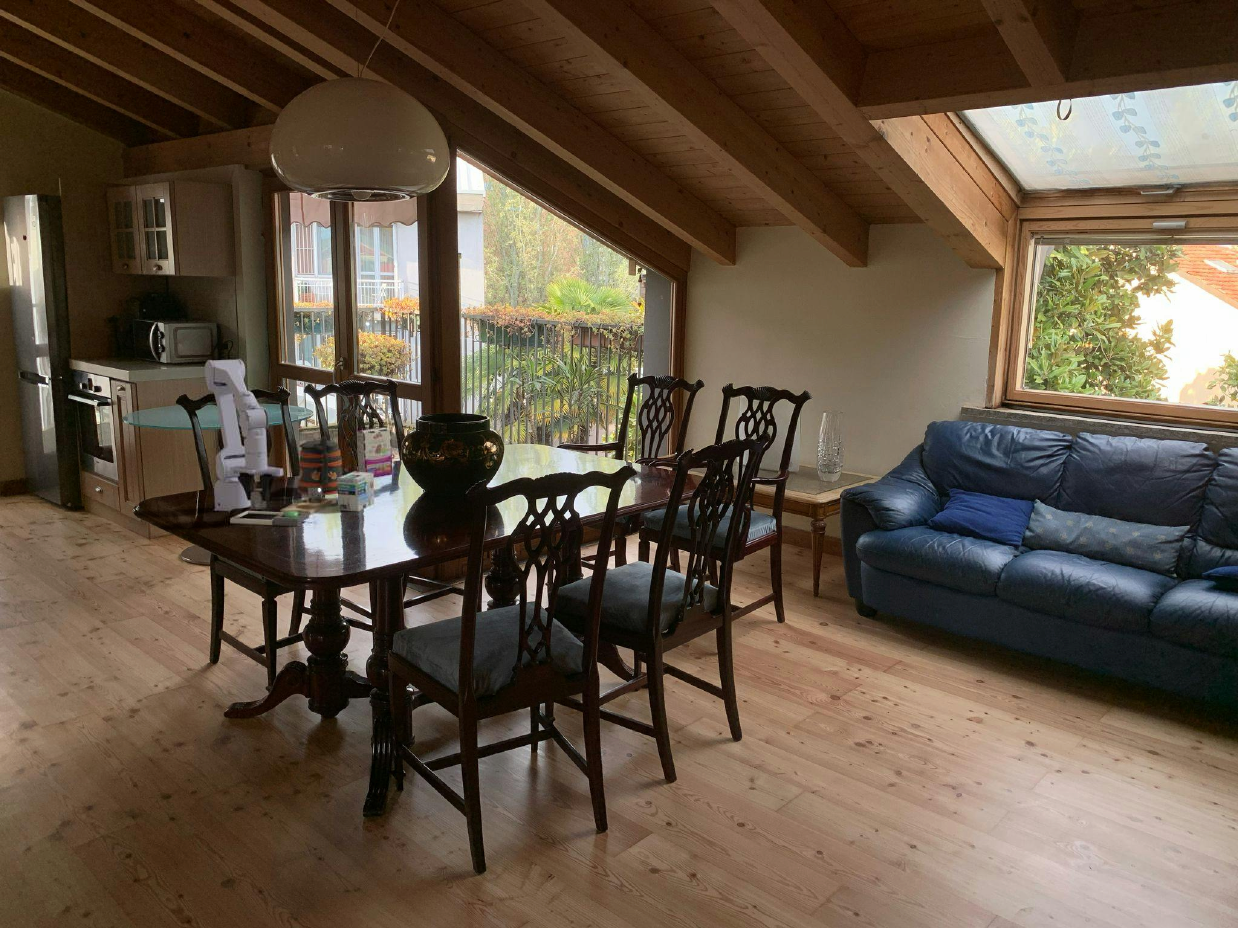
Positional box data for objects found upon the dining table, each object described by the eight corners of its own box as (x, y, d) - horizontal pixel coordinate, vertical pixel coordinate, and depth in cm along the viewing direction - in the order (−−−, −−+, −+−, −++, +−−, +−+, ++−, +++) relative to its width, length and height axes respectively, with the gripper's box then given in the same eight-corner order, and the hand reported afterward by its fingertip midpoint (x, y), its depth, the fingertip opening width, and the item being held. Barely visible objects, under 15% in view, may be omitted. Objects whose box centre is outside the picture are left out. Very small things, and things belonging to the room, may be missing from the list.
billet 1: (248, 508, 258) (247, 491, 257) (255, 505, 262) (254, 488, 261) (261, 509, 258) (260, 492, 257) (268, 506, 262) (267, 488, 261)
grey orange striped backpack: (355, 499, 290) (353, 435, 287) (307, 503, 283) (304, 439, 279) (339, 487, 306) (337, 427, 303) (293, 491, 299) (290, 430, 295)
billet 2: (306, 505, 276) (305, 488, 275) (312, 502, 280) (311, 485, 279) (319, 505, 276) (318, 489, 275) (325, 502, 279) (324, 486, 278)
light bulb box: (358, 515, 270) (357, 479, 268) (337, 513, 271) (336, 477, 269) (375, 507, 280) (374, 472, 278) (354, 505, 282) (353, 470, 280)
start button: (282, 520, 257) (282, 513, 257) (288, 517, 260) (288, 510, 260) (294, 521, 256) (294, 514, 256) (300, 518, 260) (300, 511, 260)
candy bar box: (384, 472, 332) (383, 427, 329) (393, 474, 329) (391, 428, 326) (357, 476, 324) (355, 430, 321) (365, 478, 321) (364, 431, 318)
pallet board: (280, 517, 266) (280, 509, 265) (307, 504, 282) (307, 497, 282) (310, 518, 265) (310, 511, 264) (335, 505, 281) (335, 498, 281)
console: (273, 526, 256) (273, 517, 255) (285, 520, 262) (285, 511, 262) (297, 527, 255) (297, 519, 254) (309, 521, 262) (309, 513, 261)
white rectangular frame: (230, 524, 257) (230, 518, 257) (247, 516, 266) (247, 510, 266) (272, 526, 256) (271, 520, 255) (287, 518, 265) (287, 512, 264)
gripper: (223, 453, 254) (226, 501, 257) (273, 456, 252) (275, 504, 255) (236, 449, 261) (239, 496, 264) (285, 451, 259) (288, 498, 262)
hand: (258, 500), depth 260 cm, fingers closed on billet 1, 4 cm apart
